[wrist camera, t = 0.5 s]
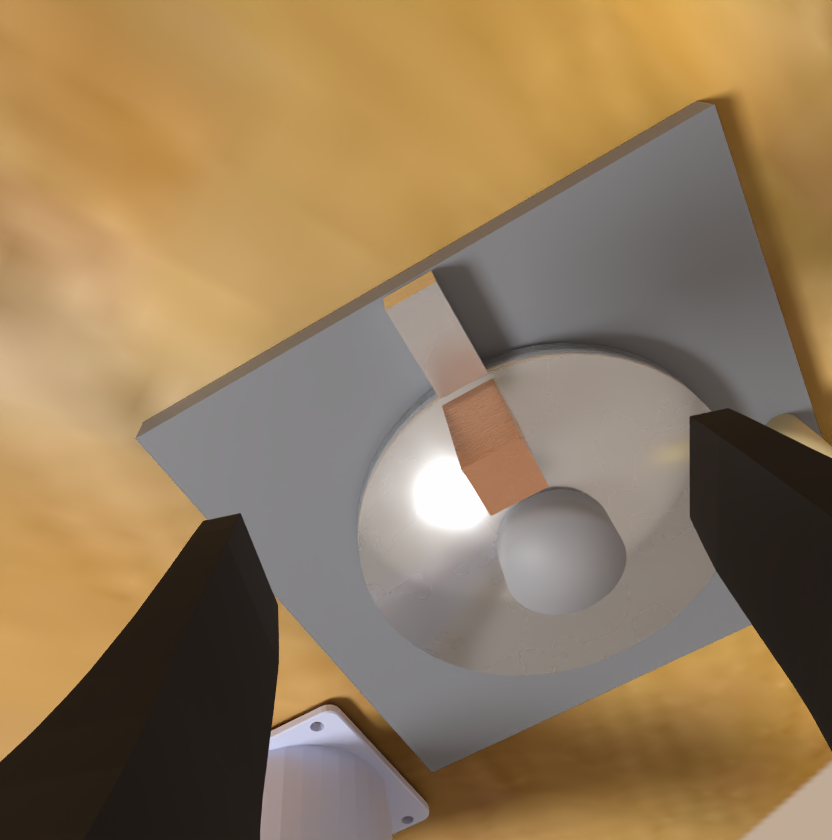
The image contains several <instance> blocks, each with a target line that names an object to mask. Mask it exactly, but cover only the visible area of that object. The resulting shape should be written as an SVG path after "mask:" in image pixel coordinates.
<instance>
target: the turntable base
mask: <svg viewBox="0 0 832 840" xmlns="http://www.w3.org/2000/svg"><path fill="white" fill-rule="evenodd" d="M429 271H432V273H433V274H434V276H435V278H436V280H437V281H438V283H439V285H440V287H441V288H442V290H443V292H444V294H445V296H446V297H447V299H448V301H449V303H450V304H451V306H452V308H453V310H454V311H455V313H456V315H457V317H458V318H459V320H460V322H461V324H462V326H463V327H464V329H465V331H466V333H467V334H468V336H469V338H470V340H471V341H472V343H473V345H474V347H475V349H476V350H477V352H478V354H479V356H480V357H481V359H482V360H484V359H487V358H490V357H493V356H495V355H498V354H501V353H504V352H507V351H511V350H515V349H520V348H525V347H530V346H534V345H543V344H554V343H585V344H595V345H601V346H607V347H612V348H617V349H620V350H623V351H626V352H630V353H633V354H636V355H639V356H641V357H643V358H645V359H647V360H649V361H651V362H653V363H655V364H657V365H660V366H661V367H663V368H664V369H665V370H667V371H668V372H670V373H671V374H673V375H674V376H676V377H677V378H678V379H680V380H681V381H682V382H683V383H684V384H685V385H686V386H687V387H688V388H689V389H690V390H691V391H692V392H693V393H694V394H695V395H696V396H697V397H698V398H699V399H700V400H701V401H702V402H703V403H704V404H705V405H706V406H707V407H708V408H709V409H710V410H711V412H712V411H717V410H721V409H726V408H729V409H732V410H734V411H736V412H738V413H741V414H743V415H745V416H747V417H749V418H751V419H753V420H755V421H757V422H759V423H762V424H764V425H766V426H768V427H770V428H772V429H774V430H776V431H778V432H780V433H782V434H784V435H786V436H788V437H790V438H792V439H794V440H796V441H798V442H800V443H802V444H804V445H806V446H808V447H810V448H812V449H814V450H816V451H818V452H820V453H822V454H824V455H826V456H829V457H831V458H832V446H831V445H829V444H828V443H827V442H826V441H825V440H823V439H822V436H821V432H820V429H819V426H818V423H817V420H816V417H815V414H814V411H813V408H812V404H811V401H810V398H809V395H808V392H807V389H806V386H805V383H804V380H803V377H802V373H801V370H800V367H799V364H798V361H797V358H796V355H795V352H794V349H793V346H792V342H791V339H790V336H789V333H788V330H787V327H786V324H785V321H784V318H783V315H782V311H781V308H780V305H779V302H778V299H777V296H776V293H775V290H774V287H773V284H772V280H771V277H770V274H769V271H768V268H767V265H766V262H765V259H764V256H763V253H762V249H761V246H760V243H759V240H758V237H757V234H756V231H755V228H754V225H753V221H752V218H751V215H750V212H749V209H748V206H747V203H746V200H745V197H744V194H743V190H742V187H741V184H740V181H739V178H738V175H737V172H736V169H735V166H734V163H733V159H732V156H731V153H730V150H729V147H728V144H727V141H726V138H725V135H724V132H723V128H722V125H721V122H720V119H719V116H718V113H717V110H716V107H715V104H712V103H707V102H702V101H696V102H694V103H692V104H691V105H689V106H687V107H686V108H684V109H682V110H680V111H679V112H677V113H675V114H673V115H672V116H670V117H668V118H667V119H665V120H663V121H661V122H660V123H658V124H656V125H655V126H653V127H651V128H649V129H648V130H646V131H644V132H642V133H641V134H639V135H637V136H636V137H634V138H632V139H630V140H629V141H627V142H625V143H624V144H622V145H620V146H618V147H617V148H615V149H613V150H611V151H610V152H608V153H606V154H605V155H603V156H601V157H599V158H598V159H596V160H594V161H593V162H591V163H589V164H587V165H586V166H584V167H582V168H580V169H579V170H577V171H575V172H574V173H572V174H570V175H568V176H567V177H565V178H563V179H562V180H560V181H558V182H556V183H555V184H553V185H551V186H549V187H548V188H546V189H544V190H543V191H541V192H539V193H537V194H536V195H534V196H532V197H531V198H529V199H527V200H525V201H524V202H522V203H520V204H518V205H517V206H515V207H513V208H512V209H510V210H508V211H506V212H505V213H503V214H501V215H500V216H498V217H496V218H494V219H493V220H491V221H489V222H487V223H486V224H484V225H482V226H481V227H479V228H477V229H475V230H474V231H472V232H470V233H469V234H467V235H465V236H463V237H462V238H460V239H458V240H456V241H455V242H453V243H451V244H450V245H448V246H446V247H444V248H443V249H441V250H439V251H438V252H436V253H434V254H432V255H431V256H429V257H427V258H425V259H424V260H422V261H420V262H419V263H417V264H415V265H413V266H412V267H410V268H408V269H407V270H405V271H403V272H401V273H400V274H398V275H396V276H394V277H393V278H391V279H389V280H388V281H386V282H384V283H382V284H381V285H379V286H377V287H376V288H374V289H372V290H370V291H369V292H367V293H365V294H363V295H362V296H360V297H358V298H357V299H355V300H353V301H351V302H350V303H348V304H346V305H344V306H343V307H341V308H339V309H338V310H336V311H334V312H332V313H331V314H329V315H327V316H326V317H324V318H322V319H320V320H319V321H317V322H315V323H313V324H312V325H310V326H308V327H307V328H305V329H303V330H301V331H300V332H298V333H296V334H295V335H293V336H291V337H289V338H288V339H286V340H284V341H282V342H281V343H279V344H277V345H276V346H274V347H272V348H270V349H269V350H267V351H265V352H264V353H262V354H260V355H258V356H257V357H255V358H253V359H251V360H250V361H248V362H246V363H245V364H243V365H241V366H239V367H238V368H236V369H234V370H233V371H231V372H229V373H227V374H226V375H224V376H222V377H220V378H219V379H217V380H215V381H214V382H212V383H210V384H208V385H207V386H205V387H203V388H202V389H200V390H198V391H196V392H195V393H193V394H191V395H189V396H188V397H186V398H184V399H183V400H181V401H179V402H177V403H176V404H174V405H172V406H171V407H169V408H167V409H165V410H164V411H162V412H160V413H158V414H157V415H155V416H153V417H152V418H150V419H148V420H146V421H145V422H143V424H142V426H141V428H140V430H139V432H138V434H137V437H136V440H137V441H138V442H139V443H140V444H141V445H142V446H143V447H144V449H145V450H146V451H147V452H148V453H149V454H150V455H151V456H152V458H153V459H154V460H155V461H156V462H157V463H158V464H159V466H160V467H161V468H162V469H163V470H164V471H165V472H166V473H167V475H168V476H169V477H170V478H171V479H172V480H173V481H174V482H175V484H176V485H177V486H178V487H179V488H180V489H181V490H182V491H183V493H184V494H185V495H186V496H187V497H188V498H189V499H190V500H191V502H192V503H193V504H194V505H195V506H196V507H197V508H198V509H199V511H200V512H201V513H202V514H203V515H204V516H205V517H206V518H207V520H210V519H215V518H219V517H224V516H229V515H233V514H238V513H241V515H242V517H243V520H244V522H245V525H246V527H247V530H248V532H249V535H250V537H251V540H252V542H253V545H254V547H255V550H256V552H257V555H258V557H259V559H260V562H261V564H262V567H263V569H264V572H265V574H266V577H267V579H268V582H269V584H270V587H271V589H272V592H273V594H274V595H275V596H276V597H277V599H278V600H279V601H280V602H281V603H282V604H283V605H284V606H285V608H286V609H287V610H288V611H289V612H290V613H291V614H292V615H293V617H294V618H295V619H296V620H297V621H298V622H299V623H300V624H301V626H302V627H303V628H304V629H305V630H306V631H307V632H308V633H309V635H310V636H311V637H312V638H313V639H314V640H315V641H316V642H317V644H318V645H319V646H320V647H321V648H322V649H323V650H324V652H325V653H326V654H327V655H328V656H329V657H330V658H331V659H332V661H333V662H334V663H335V664H336V665H337V666H338V667H339V668H340V670H341V671H342V672H343V673H344V674H345V675H346V676H347V677H348V679H349V680H350V681H351V682H352V683H353V684H354V685H355V686H356V688H357V689H358V690H359V691H360V692H361V693H362V694H363V695H364V697H365V698H366V699H367V700H368V701H369V702H370V703H371V704H372V706H373V707H374V708H375V709H376V710H377V711H378V712H379V714H380V715H381V716H382V717H383V718H384V719H385V720H386V721H387V723H388V724H389V725H390V726H391V727H392V728H393V729H394V730H395V732H396V733H397V734H398V735H399V736H400V737H401V738H402V739H403V741H404V742H405V743H406V744H407V745H408V746H409V747H410V748H411V750H412V751H413V752H414V753H415V754H416V755H417V756H418V757H419V759H420V760H421V761H422V762H423V763H424V764H425V765H426V766H427V768H428V769H429V770H430V771H431V772H432V773H433V772H435V771H437V770H439V769H441V768H444V767H446V766H448V765H450V764H452V763H454V762H456V761H459V760H461V759H463V758H465V757H467V756H469V755H472V754H474V753H476V752H478V751H480V750H482V749H484V748H487V747H489V746H491V745H493V744H495V743H497V742H500V741H502V740H504V739H506V738H508V737H510V736H512V735H515V734H517V733H519V732H521V731H523V730H525V729H528V728H530V727H532V726H534V725H536V724H538V723H540V722H543V721H545V720H547V719H549V718H551V717H553V716H556V715H558V714H560V713H562V712H564V711H566V710H569V709H571V708H573V707H575V706H577V705H579V704H581V703H584V702H586V701H588V700H590V699H592V698H594V697H597V696H599V695H601V694H603V693H605V692H607V691H609V690H612V689H614V688H616V687H618V686H620V685H622V684H625V683H627V682H629V681H631V680H633V679H635V678H637V677H640V676H642V675H644V674H646V673H648V672H650V671H653V670H655V669H657V668H659V667H661V666H663V665H666V664H668V663H670V662H672V661H674V660H676V659H678V658H681V657H683V656H685V655H687V654H689V653H691V652H694V651H696V650H698V649H700V648H702V647H704V646H706V645H709V644H711V643H713V642H715V641H717V640H719V639H722V638H724V637H726V636H728V635H730V634H732V633H734V632H737V631H739V630H741V629H743V628H745V627H747V626H750V625H752V624H751V622H750V621H749V619H748V618H747V617H746V615H745V614H744V612H743V611H742V609H741V608H740V606H739V605H738V603H737V602H736V600H735V599H734V597H733V596H732V594H731V593H730V591H729V590H728V588H727V587H726V585H725V584H724V582H723V581H722V579H721V578H720V576H719V575H718V573H717V572H716V570H715V572H714V573H713V575H712V576H711V578H710V580H709V581H708V583H707V584H706V585H705V586H704V587H703V589H702V590H701V591H700V592H699V594H698V595H697V596H696V597H695V598H694V600H693V601H692V602H691V603H690V604H689V605H688V606H687V607H685V608H684V609H683V610H682V611H681V612H680V613H679V614H678V615H677V616H676V617H675V618H674V619H672V620H671V621H670V622H669V623H667V624H666V625H665V626H664V627H662V628H661V629H660V630H658V631H657V632H655V633H654V634H652V635H651V636H649V637H648V638H646V639H644V640H643V641H641V642H640V643H638V644H636V645H634V646H632V647H630V648H628V649H626V650H624V651H623V652H620V653H618V654H616V655H613V656H611V657H608V658H606V659H604V660H601V661H598V662H595V663H592V664H589V665H586V666H582V667H579V668H575V669H570V670H566V671H561V672H556V673H547V674H539V675H513V676H512V675H500V674H489V673H484V672H478V671H473V670H469V669H465V668H462V667H459V666H455V665H452V664H449V663H447V662H445V661H442V660H440V659H438V658H435V657H433V656H431V655H429V654H428V653H426V652H424V651H423V650H421V649H419V648H418V647H416V646H414V645H413V644H412V643H411V642H409V641H408V640H407V639H406V638H404V637H403V636H402V635H401V634H399V633H398V632H397V631H396V630H395V629H394V627H393V626H392V625H391V624H390V623H389V622H388V621H387V620H386V619H385V617H384V616H383V615H382V613H381V612H380V610H379V609H378V607H377V606H376V604H375V603H374V601H373V599H372V596H371V594H370V592H369V590H368V588H367V586H366V583H365V579H364V576H363V572H362V569H361V564H360V555H359V546H358V530H357V520H358V504H359V499H360V494H361V490H362V485H363V482H364V479H365V476H366V474H367V471H368V468H369V466H370V463H371V461H372V459H373V457H374V455H375V454H376V452H377V450H378V448H379V446H380V444H381V443H382V441H383V440H384V438H385V437H386V435H387V434H388V433H389V431H390V430H391V429H392V427H393V426H394V425H395V423H396V422H397V421H398V420H399V419H400V418H401V417H402V415H403V414H404V413H405V412H406V411H407V410H408V409H409V408H410V407H411V406H412V405H413V404H414V403H415V402H416V401H417V400H419V399H420V398H421V397H422V396H424V395H425V394H426V393H427V392H429V391H430V390H431V389H432V388H433V387H432V386H431V384H430V382H429V381H428V379H427V377H426V376H425V374H424V373H423V371H422V369H421V368H420V366H419V364H418V363H417V361H416V360H415V358H414V356H413V355H412V353H411V352H410V350H409V348H408V347H407V345H406V343H405V342H404V340H403V339H402V337H401V335H400V334H399V332H398V330H397V329H396V327H395V326H394V324H393V322H392V321H391V319H390V317H389V316H388V314H387V313H386V311H385V307H384V302H383V298H384V297H386V296H388V295H389V294H391V293H393V292H395V291H396V290H398V289H400V288H402V287H403V286H405V285H407V284H409V283H410V282H412V281H414V280H415V279H417V278H419V277H421V276H422V275H424V274H426V273H428V272H429ZM496 550H497V555H498V558H499V561H500V564H501V568H502V571H503V574H504V577H505V580H506V583H507V586H508V589H509V591H510V593H511V595H512V596H513V597H514V598H515V600H516V601H518V602H519V603H520V604H521V605H523V606H524V607H525V608H528V609H530V610H532V611H535V612H538V613H542V614H549V615H562V614H569V613H574V612H577V611H580V610H583V609H586V608H588V607H590V606H592V605H594V604H596V603H597V602H599V601H600V600H602V599H603V598H604V597H605V596H607V595H608V594H609V593H610V592H611V591H612V590H613V589H614V588H615V586H616V585H617V584H618V582H619V580H620V579H621V577H622V575H623V572H624V569H625V566H626V549H625V545H624V543H623V540H622V539H621V537H620V535H619V533H618V532H617V530H616V528H615V526H614V525H613V523H612V521H611V519H610V518H609V516H608V514H607V512H606V511H605V509H604V508H603V506H602V505H601V504H600V503H599V502H598V501H596V500H595V499H594V498H592V497H591V496H589V495H587V494H584V493H582V492H578V491H574V490H551V491H546V492H543V493H539V494H536V495H534V496H532V497H530V498H528V499H526V500H525V501H523V502H521V503H520V504H519V505H517V506H516V507H515V508H514V509H513V510H512V511H511V512H510V513H509V514H508V515H507V516H506V518H505V519H504V521H503V522H502V524H501V526H500V528H499V531H498V534H497V539H496Z"/></svg>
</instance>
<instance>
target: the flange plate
mask: <svg viewBox="0 0 832 840" xmlns="http://www.w3.org/2000/svg"><path fill="white" fill-rule="evenodd" d="M383 302H384V307H385V311H386V313H387V314H388V316H389V317H390V319H391V321H392V322H393V324H394V326H395V327H396V329H397V330H398V332H399V334H400V335H401V337H402V339H403V340H404V342H405V343H406V345H407V347H408V348H409V350H410V352H411V353H412V355H413V356H414V358H415V360H416V361H417V363H418V364H419V366H420V368H421V369H422V371H423V373H424V374H425V376H426V377H427V379H428V381H429V382H430V384H431V386H432V387H433V388H432V389H431V390H430V391H429V392H427V393H426V394H425V395H424V396H422V397H421V398H420V399H419V400H417V401H416V402H415V403H414V404H413V405H412V406H411V407H410V408H409V409H408V410H407V411H406V412H405V413H404V414H403V415H402V417H401V418H400V419H399V420H398V421H397V422H396V423H395V425H394V426H393V427H392V429H391V430H390V431H389V433H388V434H387V435H386V437H385V438H384V440H383V441H382V443H381V444H380V446H379V448H378V450H377V452H376V454H375V455H374V457H373V459H372V461H371V463H370V466H369V468H368V471H367V474H366V476H365V479H364V482H363V485H362V490H361V494H360V499H359V504H358V520H357V530H358V546H359V555H360V564H361V569H362V572H363V576H364V579H365V583H366V586H367V588H368V590H369V592H370V594H371V596H372V599H373V601H374V603H375V604H376V606H377V607H378V609H379V610H380V612H381V613H382V615H383V616H384V617H385V619H386V620H387V621H388V622H389V623H390V624H391V625H392V626H393V627H394V629H395V630H396V631H397V632H398V633H399V634H401V635H402V636H403V637H404V638H406V639H407V640H408V641H409V642H411V643H412V644H413V645H414V646H416V647H418V648H419V649H421V650H423V651H424V652H426V653H428V654H429V655H431V656H433V657H435V658H438V659H440V660H442V661H445V662H447V663H449V664H452V665H455V666H459V667H462V668H465V669H469V670H473V671H478V672H484V673H489V674H500V675H512V676H513V675H539V674H547V673H556V672H561V671H566V670H570V669H575V668H579V667H582V666H586V665H589V664H592V663H595V662H598V661H601V660H604V659H606V658H608V657H611V656H613V655H616V654H618V653H620V652H623V651H624V650H626V649H628V648H630V647H632V646H634V645H636V644H638V643H640V642H641V641H643V640H644V639H646V638H648V637H649V636H651V635H652V634H654V633H655V632H657V631H658V630H660V629H661V628H662V627H664V626H665V625H666V624H667V623H669V622H670V621H671V620H672V619H674V618H675V617H676V616H677V615H678V614H679V613H680V612H681V611H682V610H683V609H684V608H685V607H687V606H688V605H689V604H690V603H691V602H692V601H693V600H694V598H695V597H696V596H697V595H698V594H699V592H700V591H701V590H702V589H703V587H704V586H705V585H706V584H707V583H708V581H709V580H710V578H711V576H712V575H713V573H714V572H715V568H714V566H713V564H712V562H711V560H710V558H709V556H708V554H707V552H706V550H705V548H704V546H703V544H702V542H701V540H700V538H699V536H698V534H697V532H696V530H695V528H694V526H693V523H692V521H691V519H690V416H693V415H698V414H703V413H707V412H711V410H710V409H709V408H708V407H707V406H706V405H705V404H704V403H703V402H702V401H701V400H700V399H699V398H698V397H697V396H696V395H695V394H694V393H693V392H692V391H691V390H690V389H689V388H688V387H687V386H686V385H685V384H684V383H683V382H682V381H681V380H680V379H678V378H677V377H676V376H674V375H673V374H671V373H670V372H668V371H667V370H665V369H664V368H663V367H661V366H660V365H657V364H655V363H653V362H651V361H649V360H647V359H645V358H643V357H641V356H639V355H636V354H633V353H630V352H626V351H623V350H620V349H617V348H612V347H607V346H601V345H595V344H585V343H554V344H543V345H534V346H530V347H525V348H520V349H515V350H511V351H507V352H504V353H501V354H498V355H495V356H493V357H490V358H487V359H484V360H482V359H481V357H480V356H479V354H478V352H477V350H476V349H475V347H474V345H473V343H472V341H471V340H470V338H469V336H468V334H467V333H466V331H465V329H464V327H463V326H462V324H461V322H460V320H459V318H458V317H457V315H456V313H455V311H454V310H453V308H452V306H451V304H450V303H449V301H448V299H447V297H446V296H445V294H444V292H443V290H442V288H441V287H440V285H439V283H438V281H437V280H436V278H435V276H434V274H433V273H432V271H429V272H428V273H426V274H424V275H422V276H421V277H419V278H417V279H415V280H414V281H412V282H410V283H409V284H407V285H405V286H403V287H402V288H400V289H398V290H396V291H395V292H393V293H391V294H389V295H388V296H386V297H384V298H383ZM551 490H574V491H578V492H582V493H584V494H587V495H589V496H591V497H592V498H594V499H595V500H596V501H598V502H599V503H600V504H601V505H602V506H603V508H604V509H605V511H606V512H607V514H608V516H609V518H610V519H611V521H612V523H613V525H614V526H615V528H616V530H617V532H618V533H619V535H620V537H621V539H622V540H623V543H624V545H625V549H626V566H625V569H624V572H623V575H622V577H621V579H620V580H619V582H618V584H617V585H616V586H615V588H614V589H613V590H612V591H611V592H610V593H609V594H608V595H607V596H605V597H604V598H603V599H602V600H600V601H599V602H597V603H596V604H594V605H592V606H590V607H588V608H586V609H583V610H580V611H577V612H574V613H569V614H562V615H549V614H542V613H538V612H535V611H532V610H530V609H528V608H525V607H524V606H523V605H521V604H520V603H519V602H518V601H516V600H515V598H514V597H513V596H512V595H511V593H510V591H509V589H508V586H507V583H506V580H505V577H504V574H503V571H502V568H501V564H500V561H499V558H498V555H497V550H496V539H497V534H498V531H499V528H500V526H501V524H502V522H503V521H504V519H505V518H506V516H507V515H508V514H509V513H510V512H511V511H512V510H513V509H514V508H515V507H516V506H517V505H519V504H520V503H521V502H523V501H525V500H526V499H528V498H530V497H532V496H534V495H536V494H539V493H543V492H546V491H551Z"/></svg>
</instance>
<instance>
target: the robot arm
mask: <svg viewBox="0 0 832 840" xmlns="http://www.w3.org/2000/svg"><path fill="white" fill-rule="evenodd" d="M690 519H691V521H692V523H693V526H694V528H695V530H696V532H697V534H698V536H699V538H700V540H701V542H702V544H703V546H704V548H705V550H706V552H707V554H708V556H709V558H710V560H711V562H712V564H713V566H714V568H715V570H716V572H717V573H718V575H719V576H720V578H721V579H722V581H723V582H724V584H725V585H726V587H727V588H728V590H729V591H730V593H731V594H732V596H733V597H734V599H735V600H736V602H737V603H738V605H739V606H740V608H741V609H742V611H743V612H744V614H745V615H746V617H747V618H748V619H749V621H750V622H751V624H752V625H753V627H754V628H755V630H756V631H757V633H758V634H759V636H760V637H761V639H762V640H763V641H764V643H765V644H766V646H767V647H768V649H769V650H770V652H771V653H772V655H773V656H774V658H775V659H776V661H777V662H778V663H779V665H780V666H781V668H782V669H783V671H784V672H785V674H786V675H787V677H788V678H789V680H790V681H791V683H792V684H793V685H794V687H795V688H796V690H797V692H798V693H799V695H800V696H801V698H802V700H803V701H804V703H805V705H806V706H807V708H808V709H809V711H810V713H811V714H812V716H813V718H814V720H815V721H816V723H817V725H818V727H819V729H820V731H821V732H822V734H823V736H824V738H825V740H826V742H827V744H828V745H829V747H830V749H831V751H832V458H831V457H829V456H826V455H824V454H822V453H820V452H818V451H816V450H814V449H812V448H810V447H808V446H806V445H804V444H802V443H800V442H798V441H796V440H794V439H792V438H790V437H788V436H786V435H784V434H782V433H780V432H778V431H776V430H774V429H772V428H770V427H768V426H766V425H764V424H762V423H759V422H757V421H755V420H753V419H751V418H749V417H747V416H745V415H743V414H741V413H738V412H736V411H734V410H732V409H729V408H726V409H721V410H717V411H712V412H707V413H703V414H698V415H693V416H690ZM278 665H279V628H278V604H277V601H276V599H275V597H274V594H273V592H272V589H271V587H270V584H269V582H268V579H267V577H266V574H265V572H264V569H263V567H262V564H261V562H260V559H259V557H258V555H257V552H256V550H255V547H254V545H253V542H252V540H251V537H250V535H249V532H248V530H247V527H246V525H245V522H244V520H243V517H242V515H241V513H238V514H233V515H229V516H224V517H219V518H215V519H210V520H205V521H203V522H202V523H201V525H200V526H199V527H198V529H197V530H196V531H195V533H194V534H193V535H192V537H191V538H190V540H189V541H188V542H187V544H186V545H185V547H184V548H183V549H182V551H181V552H180V554H179V555H178V557H177V558H176V559H175V561H174V562H173V564H172V565H171V566H170V568H169V569H168V571H167V572H166V573H165V575H164V576H163V578H162V579H161V580H160V582H159V583H158V584H157V586H156V587H155V588H154V590H153V591H152V593H151V594H150V595H149V597H148V598H147V599H146V601H145V602H144V603H143V605H142V606H141V607H140V609H139V610H138V612H137V613H136V614H135V616H134V617H133V618H132V619H131V621H130V622H129V623H128V624H127V625H126V627H125V628H124V629H123V630H122V632H121V633H120V634H119V635H118V637H117V638H116V639H115V640H114V642H113V643H112V644H111V645H110V646H109V648H108V649H107V650H106V651H105V653H104V654H103V655H102V656H101V658H100V659H99V660H98V661H97V663H96V664H95V665H94V666H93V667H92V669H91V670H90V671H89V672H88V673H87V674H86V675H85V677H84V678H83V679H82V680H81V681H80V682H79V683H78V684H77V686H76V687H75V688H74V689H73V690H72V691H71V692H70V693H69V694H68V696H67V697H66V698H65V699H64V700H63V701H62V702H61V703H60V704H59V705H58V706H57V707H56V708H55V709H54V710H53V711H52V712H51V713H50V714H49V715H48V716H47V717H46V719H45V720H44V721H43V722H42V723H41V724H40V725H39V726H38V727H37V728H36V729H35V730H34V731H33V732H32V733H31V734H30V735H29V736H28V737H27V738H26V739H25V740H24V741H22V742H21V743H20V744H19V745H18V746H17V747H16V748H15V749H14V750H13V751H12V752H11V753H9V754H8V755H7V756H6V757H5V758H4V759H3V760H2V761H1V762H0V840H393V836H392V835H393V834H395V833H397V832H399V831H402V830H404V829H406V828H408V827H410V826H413V825H415V824H417V823H419V822H421V821H423V820H425V819H426V818H427V817H428V816H429V806H428V804H427V802H426V801H425V800H424V799H423V798H422V797H421V796H420V795H419V794H418V793H417V792H416V791H415V789H414V788H413V787H412V786H411V785H410V784H409V783H408V782H407V781H406V780H405V779H404V778H403V777H402V775H401V774H400V773H399V772H398V771H397V770H396V769H395V768H394V767H393V766H392V765H391V764H390V762H389V761H388V760H387V759H386V758H385V757H384V756H383V755H382V754H381V753H380V752H379V751H378V749H377V748H376V747H375V746H374V745H373V744H372V743H371V742H370V741H369V740H368V739H367V738H366V736H365V735H364V734H363V733H362V732H361V731H360V730H359V729H358V728H357V727H356V726H355V725H354V723H353V722H352V721H351V720H350V719H349V718H348V717H347V716H346V715H345V714H344V713H343V712H342V711H341V709H340V708H338V707H337V706H335V705H331V704H330V705H323V706H321V707H319V708H317V709H315V710H313V711H311V712H309V713H307V714H305V715H302V716H300V717H298V718H296V719H294V720H292V721H290V722H288V723H286V724H284V725H282V726H280V727H278V728H276V729H274V730H272V731H271V727H272V718H273V710H274V701H275V693H276V684H277V675H278ZM314 722H320V723H314Z"/></svg>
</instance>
